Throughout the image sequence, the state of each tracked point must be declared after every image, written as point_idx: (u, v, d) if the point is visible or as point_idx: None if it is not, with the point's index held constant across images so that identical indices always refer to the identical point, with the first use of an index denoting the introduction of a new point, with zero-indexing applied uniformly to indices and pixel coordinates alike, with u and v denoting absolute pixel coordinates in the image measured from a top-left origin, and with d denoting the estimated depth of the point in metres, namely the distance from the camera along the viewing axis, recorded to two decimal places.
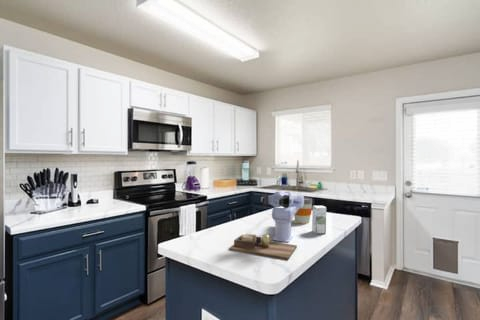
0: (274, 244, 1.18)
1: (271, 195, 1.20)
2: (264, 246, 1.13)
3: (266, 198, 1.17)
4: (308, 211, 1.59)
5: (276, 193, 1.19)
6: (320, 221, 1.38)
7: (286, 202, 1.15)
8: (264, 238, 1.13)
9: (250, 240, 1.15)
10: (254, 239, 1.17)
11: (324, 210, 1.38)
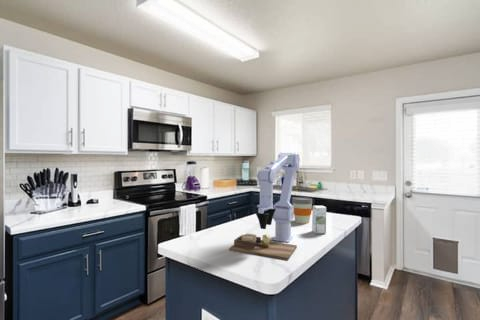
0: (274, 244, 1.18)
1: None
2: (264, 246, 1.13)
3: None
4: (308, 211, 1.59)
5: None
6: (320, 221, 1.38)
7: None
8: (264, 238, 1.13)
9: (250, 240, 1.15)
10: (254, 239, 1.17)
11: (324, 210, 1.38)
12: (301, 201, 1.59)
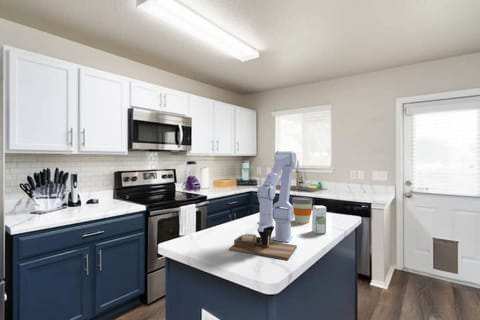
0: (274, 244, 1.18)
1: None
2: (264, 246, 1.13)
3: None
4: (308, 211, 1.59)
5: None
6: (320, 221, 1.38)
7: None
8: None
9: (250, 240, 1.15)
10: (254, 239, 1.17)
11: (324, 210, 1.38)
12: (301, 201, 1.59)
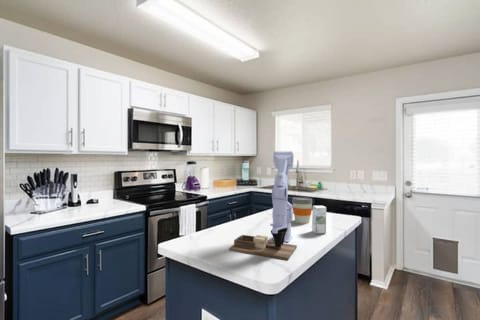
0: (274, 244, 1.18)
1: None
2: (276, 248, 1.11)
3: None
4: (308, 211, 1.59)
5: None
6: (320, 221, 1.38)
7: None
8: None
9: (262, 242, 1.13)
10: (266, 241, 1.15)
11: (324, 210, 1.38)
12: (301, 201, 1.59)
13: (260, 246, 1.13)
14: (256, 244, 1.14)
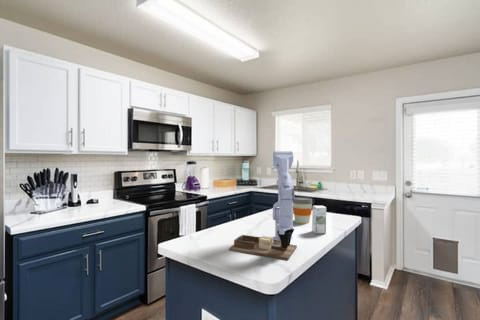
0: (274, 244, 1.18)
1: None
2: (282, 249, 1.10)
3: None
4: (308, 211, 1.59)
5: None
6: (320, 221, 1.38)
7: None
8: None
9: (267, 243, 1.12)
10: (271, 242, 1.14)
11: (324, 210, 1.38)
12: (301, 201, 1.59)
13: (266, 247, 1.12)
14: (262, 245, 1.13)
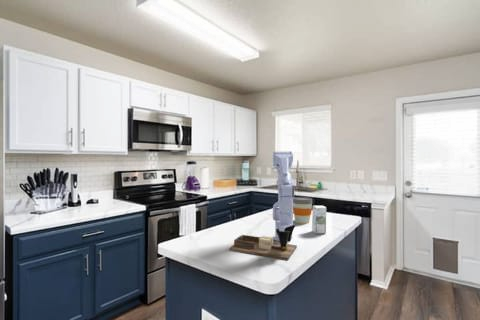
0: (274, 244, 1.18)
1: None
2: (282, 249, 1.10)
3: (286, 231, 1.15)
4: (308, 211, 1.59)
5: None
6: (320, 221, 1.38)
7: None
8: None
9: (267, 243, 1.12)
10: (271, 242, 1.14)
11: (324, 210, 1.38)
12: (301, 201, 1.59)
13: (266, 247, 1.12)
14: (262, 245, 1.13)
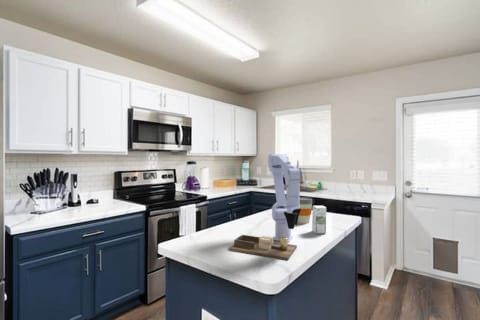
0: (274, 244, 1.18)
1: None
2: (282, 249, 1.10)
3: None
4: (308, 211, 1.59)
5: None
6: (320, 221, 1.38)
7: None
8: (282, 241, 1.10)
9: (267, 243, 1.12)
10: (271, 242, 1.14)
11: (324, 210, 1.38)
12: (301, 201, 1.59)
13: (266, 247, 1.12)
14: (262, 245, 1.13)
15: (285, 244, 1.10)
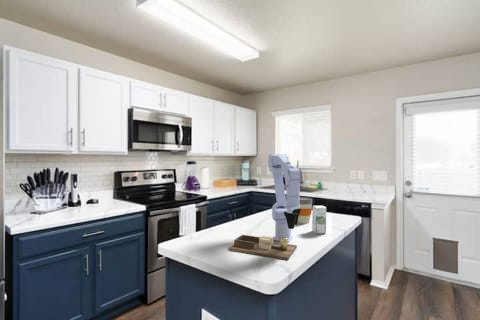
0: (274, 244, 1.18)
1: None
2: (282, 249, 1.10)
3: None
4: (308, 211, 1.59)
5: None
6: (320, 221, 1.38)
7: None
8: (282, 241, 1.10)
9: (267, 243, 1.12)
10: (271, 242, 1.14)
11: (324, 210, 1.38)
12: (301, 201, 1.59)
13: (266, 247, 1.12)
14: (262, 245, 1.13)
15: (285, 244, 1.10)
